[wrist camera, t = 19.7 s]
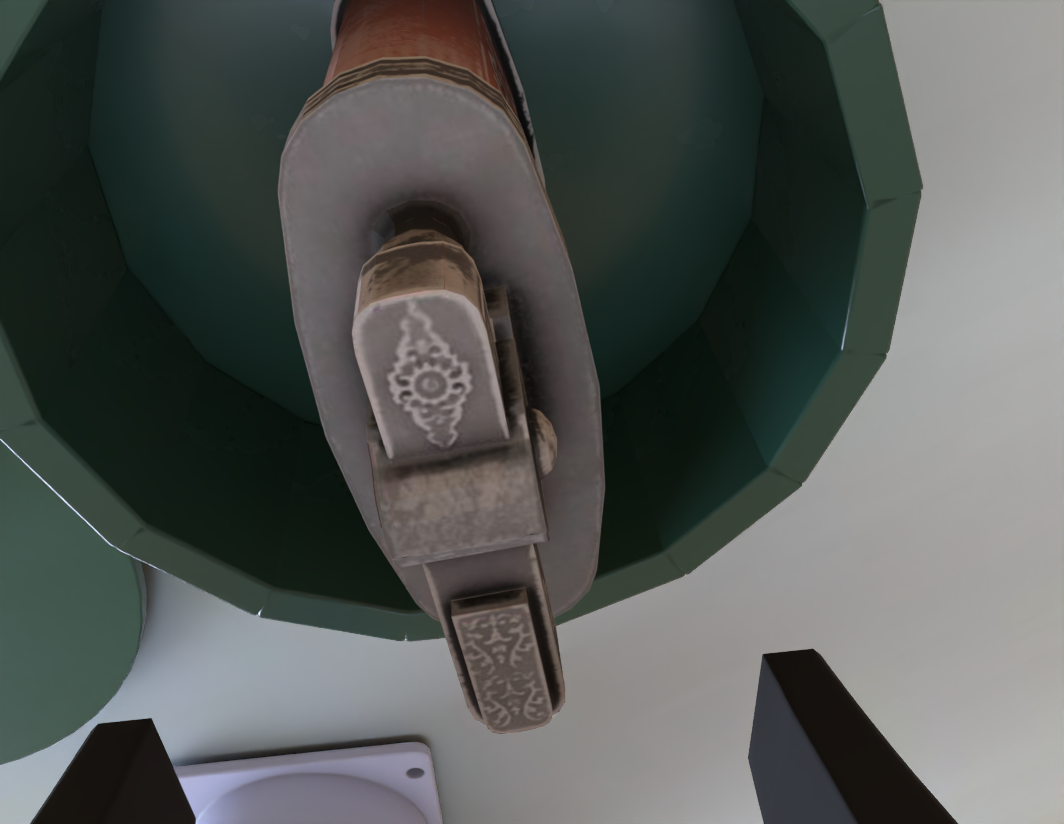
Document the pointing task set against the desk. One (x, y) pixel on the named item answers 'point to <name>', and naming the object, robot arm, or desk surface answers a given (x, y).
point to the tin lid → (58, 615)
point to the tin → (586, 225)
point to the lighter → (448, 337)
